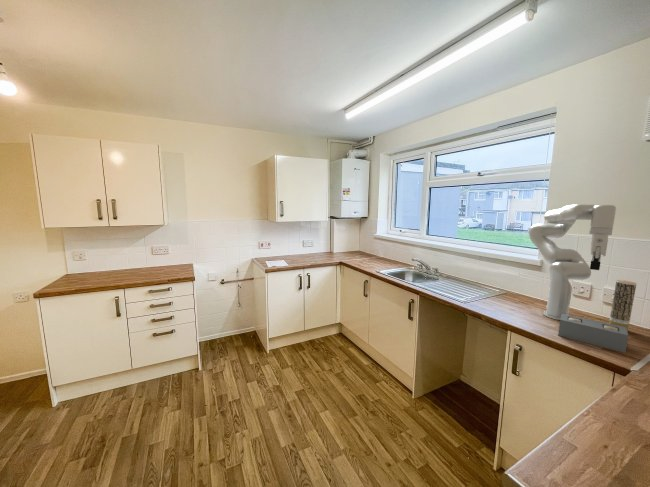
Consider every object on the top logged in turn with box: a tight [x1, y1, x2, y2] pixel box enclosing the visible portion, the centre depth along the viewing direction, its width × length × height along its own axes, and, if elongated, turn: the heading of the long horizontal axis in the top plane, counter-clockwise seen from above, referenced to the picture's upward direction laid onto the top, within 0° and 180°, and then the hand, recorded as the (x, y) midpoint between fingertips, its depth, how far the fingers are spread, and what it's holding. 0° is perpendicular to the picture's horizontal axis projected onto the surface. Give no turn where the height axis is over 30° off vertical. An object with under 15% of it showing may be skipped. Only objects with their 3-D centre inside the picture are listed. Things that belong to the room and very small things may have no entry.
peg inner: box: [569, 318, 581, 322], centre depth 131 cm, size 4×4×7 cm
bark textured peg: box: [608, 279, 637, 332], centre depth 138 cm, size 7×7×25 cm
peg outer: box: [604, 326, 618, 331], centre depth 123 cm, size 4×4×7 cm
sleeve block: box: [557, 314, 629, 354], centre depth 127 cm, size 22×11×8 cm, turn 46°
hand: (594, 269), depth 130 cm, fingers closed
